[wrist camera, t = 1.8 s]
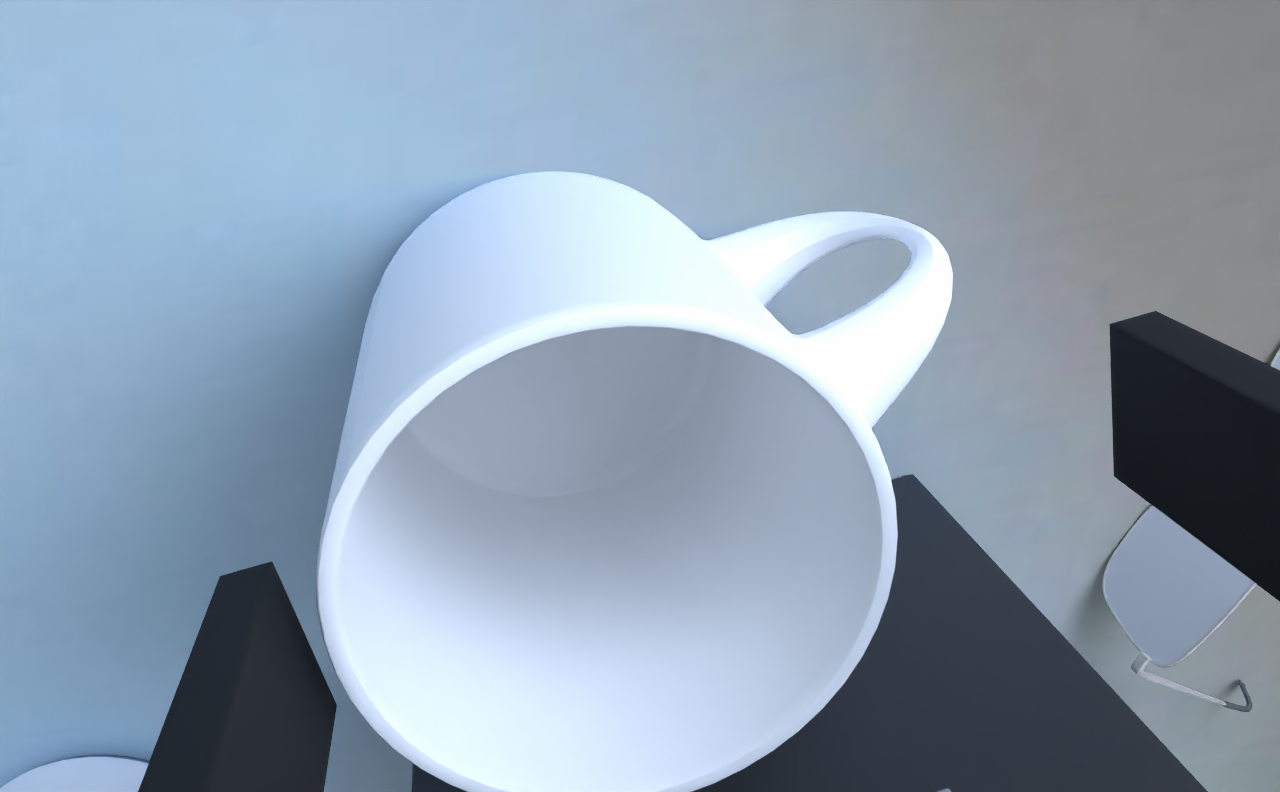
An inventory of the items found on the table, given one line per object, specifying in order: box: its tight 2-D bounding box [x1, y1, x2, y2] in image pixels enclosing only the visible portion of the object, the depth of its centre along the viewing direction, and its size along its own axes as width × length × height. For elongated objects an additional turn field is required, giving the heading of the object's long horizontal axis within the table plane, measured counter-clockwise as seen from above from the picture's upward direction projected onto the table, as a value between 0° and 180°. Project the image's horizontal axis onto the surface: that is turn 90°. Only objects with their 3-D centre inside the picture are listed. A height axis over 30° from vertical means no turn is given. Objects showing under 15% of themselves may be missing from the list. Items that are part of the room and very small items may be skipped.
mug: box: [316, 171, 953, 792], centre depth 20 cm, size 9×12×11 cm
